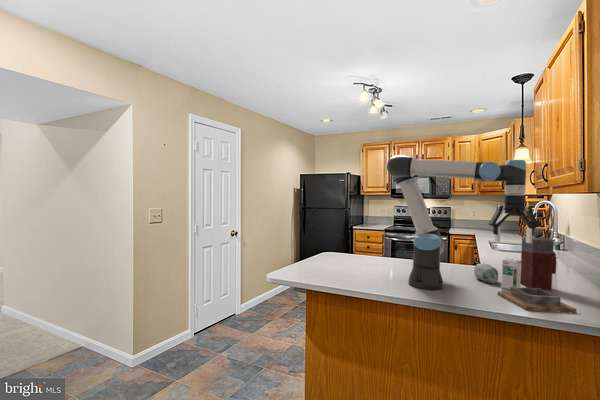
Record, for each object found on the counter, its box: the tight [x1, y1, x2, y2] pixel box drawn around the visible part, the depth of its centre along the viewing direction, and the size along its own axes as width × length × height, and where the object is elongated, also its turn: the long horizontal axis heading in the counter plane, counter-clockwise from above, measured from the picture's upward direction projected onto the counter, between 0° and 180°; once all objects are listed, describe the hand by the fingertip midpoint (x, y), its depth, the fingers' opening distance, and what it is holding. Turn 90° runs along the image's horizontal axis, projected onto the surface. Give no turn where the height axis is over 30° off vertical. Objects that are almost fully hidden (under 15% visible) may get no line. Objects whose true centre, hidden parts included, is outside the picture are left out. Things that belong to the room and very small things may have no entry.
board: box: [497, 286, 577, 314], centre depth 124 cm, size 18×18×4 cm
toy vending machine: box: [520, 227, 557, 291], centre depth 146 cm, size 9×11×28 cm
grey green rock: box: [473, 263, 499, 284], centre depth 156 cm, size 14×10×10 cm
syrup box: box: [500, 257, 521, 292], centre depth 138 cm, size 6×6×14 cm
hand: (512, 242), depth 138 cm, fingers open, 13 cm apart
